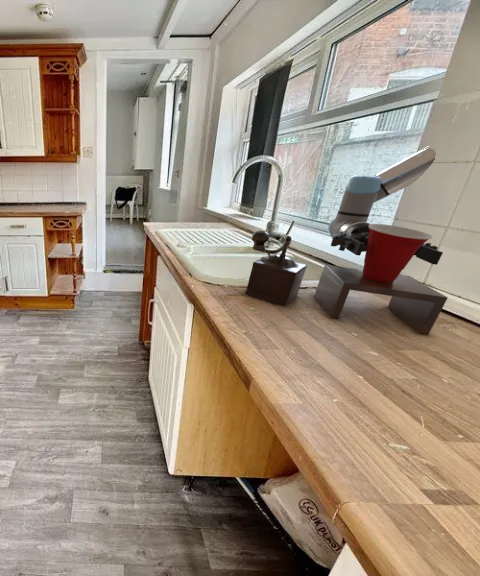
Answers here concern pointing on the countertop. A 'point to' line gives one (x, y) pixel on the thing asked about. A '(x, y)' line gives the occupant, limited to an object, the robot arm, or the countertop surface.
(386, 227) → the plastic cup
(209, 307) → the countertop surface
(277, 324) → the countertop surface
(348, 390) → the countertop surface
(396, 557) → the countertop surface
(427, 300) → the shelf
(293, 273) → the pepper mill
